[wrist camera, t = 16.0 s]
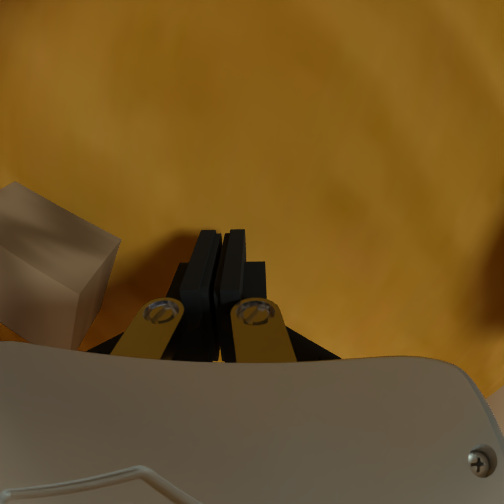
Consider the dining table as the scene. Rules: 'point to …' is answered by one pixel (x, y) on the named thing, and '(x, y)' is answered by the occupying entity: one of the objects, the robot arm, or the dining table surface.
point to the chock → (50, 269)
